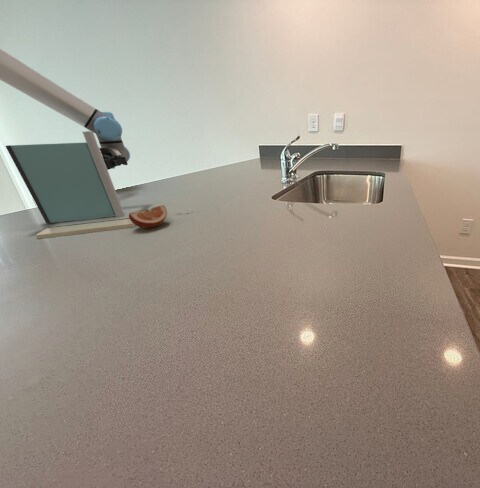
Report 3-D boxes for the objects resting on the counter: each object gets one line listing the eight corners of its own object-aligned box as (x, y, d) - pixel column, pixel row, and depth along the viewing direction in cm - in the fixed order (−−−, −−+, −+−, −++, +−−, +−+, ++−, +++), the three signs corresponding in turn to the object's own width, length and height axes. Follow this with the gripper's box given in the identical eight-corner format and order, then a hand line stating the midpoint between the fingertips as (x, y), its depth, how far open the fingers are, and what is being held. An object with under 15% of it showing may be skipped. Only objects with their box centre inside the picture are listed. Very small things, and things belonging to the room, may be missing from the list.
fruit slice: (163, 219, 72) (157, 202, 70) (176, 224, 69) (171, 206, 66) (130, 229, 66) (122, 211, 64) (142, 235, 62) (135, 215, 60)
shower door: (46, 223, 67) (5, 145, 59) (65, 212, 75) (31, 142, 67) (114, 215, 71) (84, 142, 63) (125, 206, 79) (100, 140, 71)
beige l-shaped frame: (37, 239, 62) (-21, 135, 52) (71, 217, 75) (30, 132, 65) (133, 227, 67) (98, 131, 57) (149, 209, 81) (122, 129, 71)
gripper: (147, 165, 102) (131, 175, 84) (70, 171, 94) (33, 182, 76) (141, 145, 98) (122, 151, 80) (60, 149, 91) (20, 156, 73)
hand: (79, 166), depth 78 cm, fingers open, 13 cm apart
